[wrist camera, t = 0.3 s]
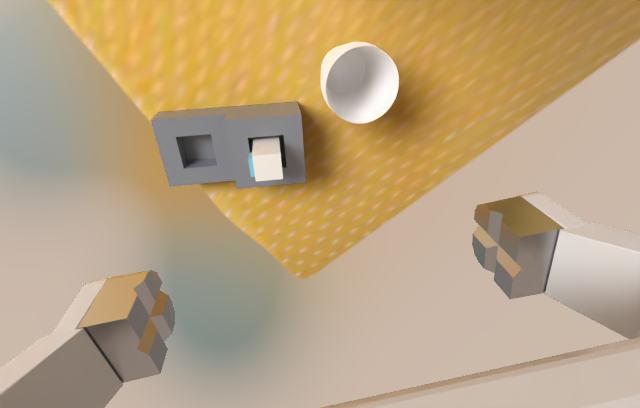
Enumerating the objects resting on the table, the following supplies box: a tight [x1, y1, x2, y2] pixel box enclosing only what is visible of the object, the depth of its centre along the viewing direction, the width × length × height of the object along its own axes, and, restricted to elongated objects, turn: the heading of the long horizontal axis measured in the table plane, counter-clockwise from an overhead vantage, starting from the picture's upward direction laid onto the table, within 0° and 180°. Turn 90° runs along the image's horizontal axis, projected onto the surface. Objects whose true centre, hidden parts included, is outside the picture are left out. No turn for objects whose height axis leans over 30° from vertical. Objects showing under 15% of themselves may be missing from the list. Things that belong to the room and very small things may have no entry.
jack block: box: [151, 102, 306, 189], centre depth 51 cm, size 10×20×7 cm, turn 92°
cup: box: [321, 42, 399, 123], centre depth 46 cm, size 9×9×12 cm
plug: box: [248, 135, 283, 182], centre depth 48 cm, size 4×4×9 cm
